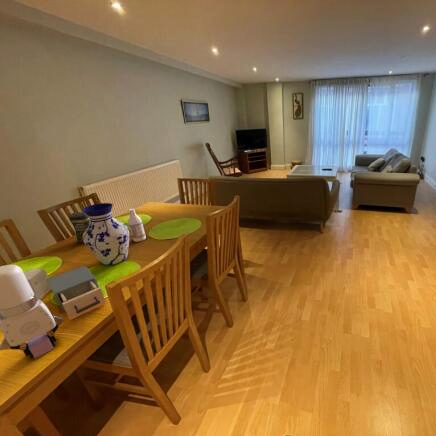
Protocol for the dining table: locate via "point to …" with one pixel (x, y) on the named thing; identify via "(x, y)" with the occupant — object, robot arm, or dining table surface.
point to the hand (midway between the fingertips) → (42, 349)
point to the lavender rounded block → (40, 345)
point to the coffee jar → (79, 224)
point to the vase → (106, 235)
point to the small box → (38, 282)
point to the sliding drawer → (82, 299)
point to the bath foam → (136, 227)
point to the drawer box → (70, 281)
